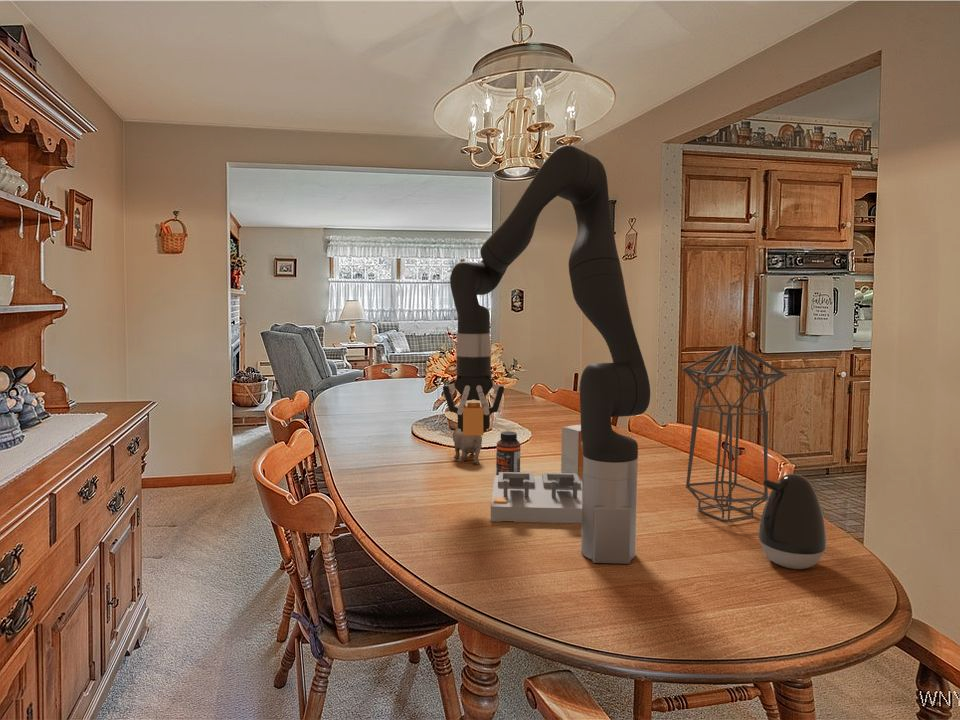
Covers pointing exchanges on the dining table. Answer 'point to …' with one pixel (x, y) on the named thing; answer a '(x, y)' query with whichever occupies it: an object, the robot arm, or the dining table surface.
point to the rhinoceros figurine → (467, 445)
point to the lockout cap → (473, 419)
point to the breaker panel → (536, 499)
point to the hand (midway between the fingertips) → (473, 430)
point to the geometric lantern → (730, 423)
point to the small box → (572, 450)
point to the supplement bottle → (508, 453)
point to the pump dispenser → (792, 523)
